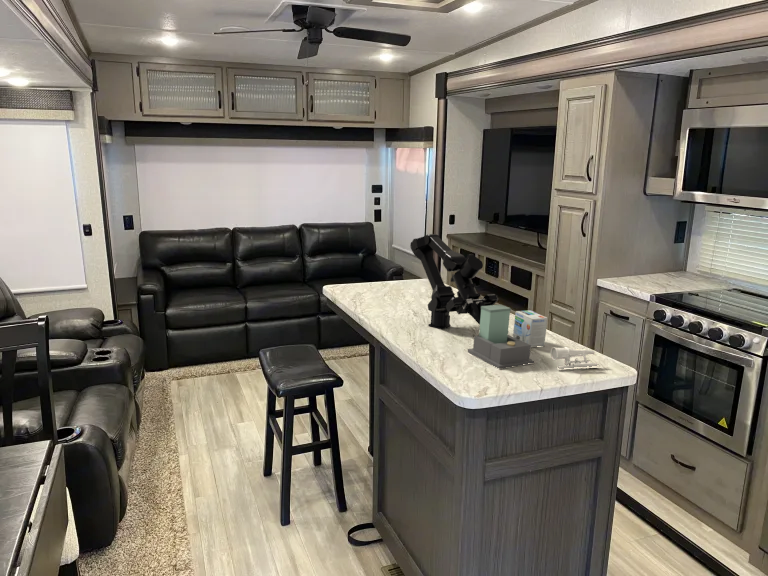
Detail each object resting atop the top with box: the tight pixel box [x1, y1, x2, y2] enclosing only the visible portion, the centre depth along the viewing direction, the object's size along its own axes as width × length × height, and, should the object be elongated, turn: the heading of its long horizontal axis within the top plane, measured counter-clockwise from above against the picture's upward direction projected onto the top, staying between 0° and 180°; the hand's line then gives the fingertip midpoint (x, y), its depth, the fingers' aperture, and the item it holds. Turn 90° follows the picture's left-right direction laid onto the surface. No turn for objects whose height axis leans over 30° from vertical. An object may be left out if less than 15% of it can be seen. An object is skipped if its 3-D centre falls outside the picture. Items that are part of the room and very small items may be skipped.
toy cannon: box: [550, 346, 600, 369], centre depth 182 cm, size 8×14×5 cm
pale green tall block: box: [478, 304, 511, 344], centre depth 190 cm, size 5×8×15 cm, turn 117°
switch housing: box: [467, 334, 535, 369], centre depth 187 cm, size 17×14×7 cm
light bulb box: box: [512, 309, 548, 348], centre depth 204 cm, size 11×7×11 cm, turn 21°
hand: (480, 323), depth 196 cm, fingers closed
